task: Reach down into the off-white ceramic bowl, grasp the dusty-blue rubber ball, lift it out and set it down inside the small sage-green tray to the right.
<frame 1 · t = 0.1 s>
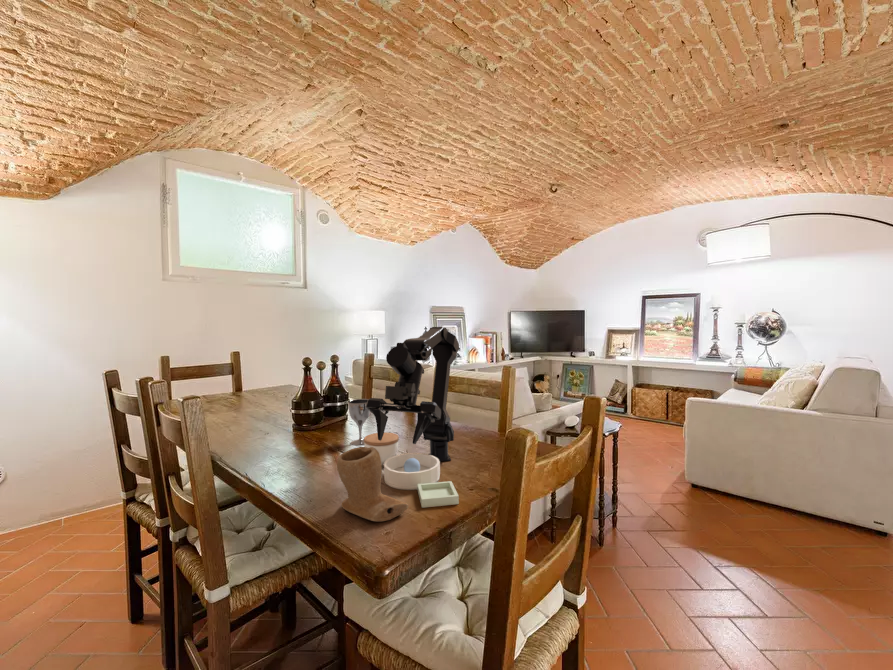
hand: (396, 441, 102), 15 cm above the table, tool tilted 30°, fingers open, 9 cm apart
tray: (437, 497, 104), on the table
lidded jar: (381, 462, 130), on the table
wine glass: (360, 442, 149), on the table
ball: (412, 466, 116), point 3 cm above the table, touching bowl
bowl: (412, 478, 116), on the table
tan boot vase: (368, 514, 96), on the table
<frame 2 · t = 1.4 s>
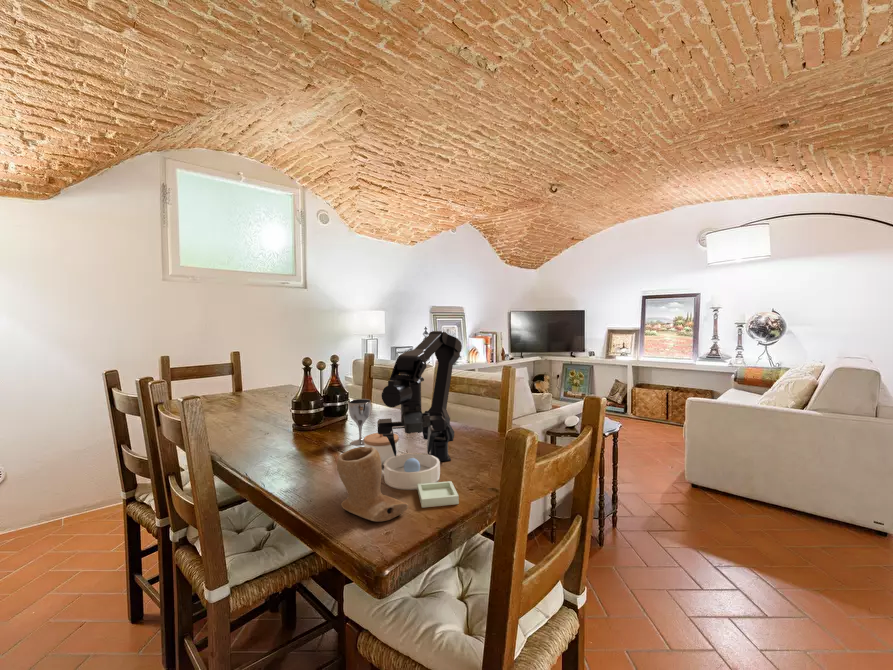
hand: (412, 454, 116), 7 cm above the table, tool pointing down, fingers open, 9 cm apart
nothing on the table moved.
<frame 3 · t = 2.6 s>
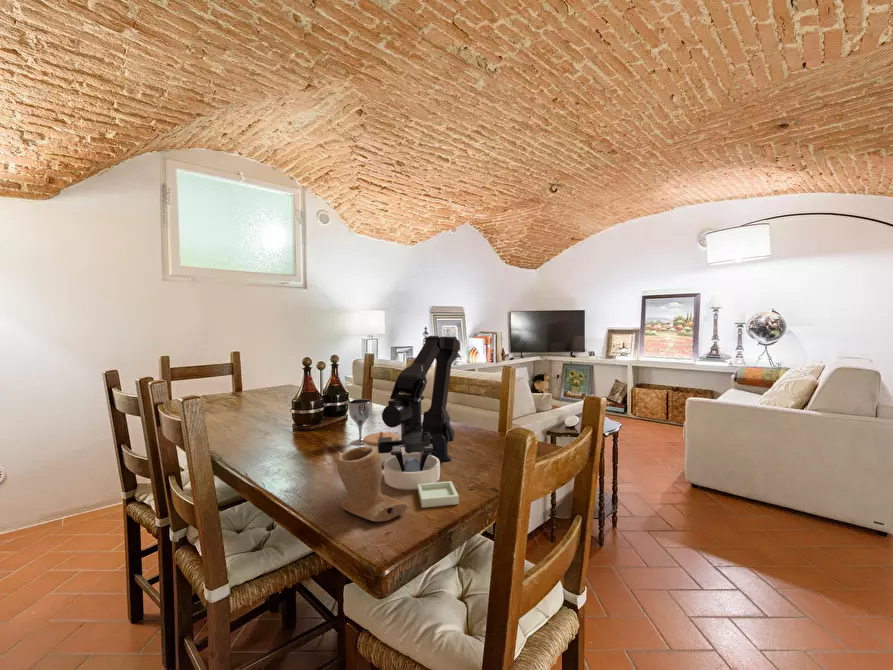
hand: (412, 473, 116), 1 cm above the table, tool pointing down, fingers closed on ball, 4 cm apart
ball: (412, 466, 116), point 3 cm above the table, touching bowl, gripper
everything else where it was.
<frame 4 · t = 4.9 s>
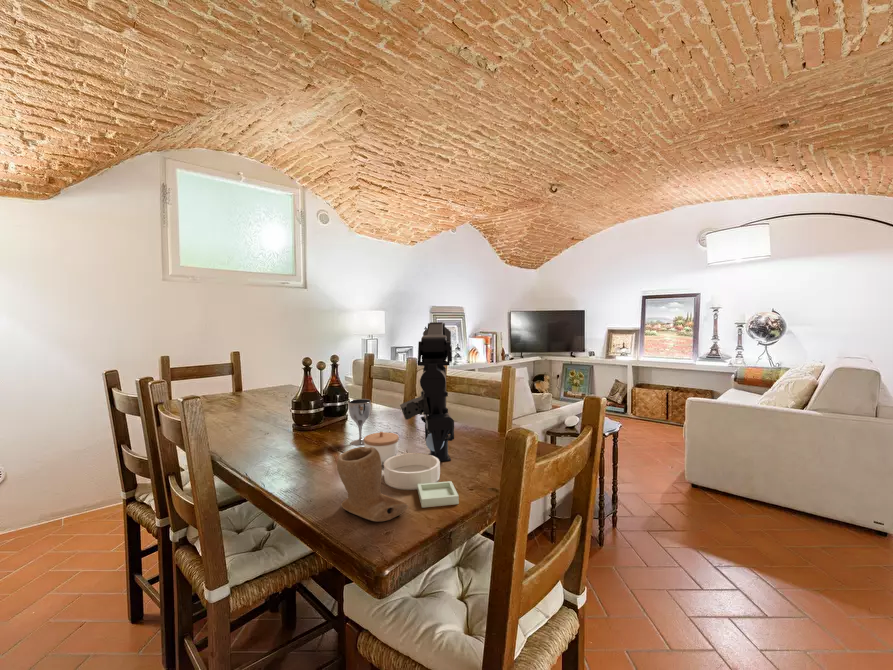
hand: (435, 449, 104), 12 cm above the table, tool pointing down, fingers closed on ball, 4 cm apart
ball: (435, 441, 103), point 14 cm above the table, touching gripper
everything else where it was.
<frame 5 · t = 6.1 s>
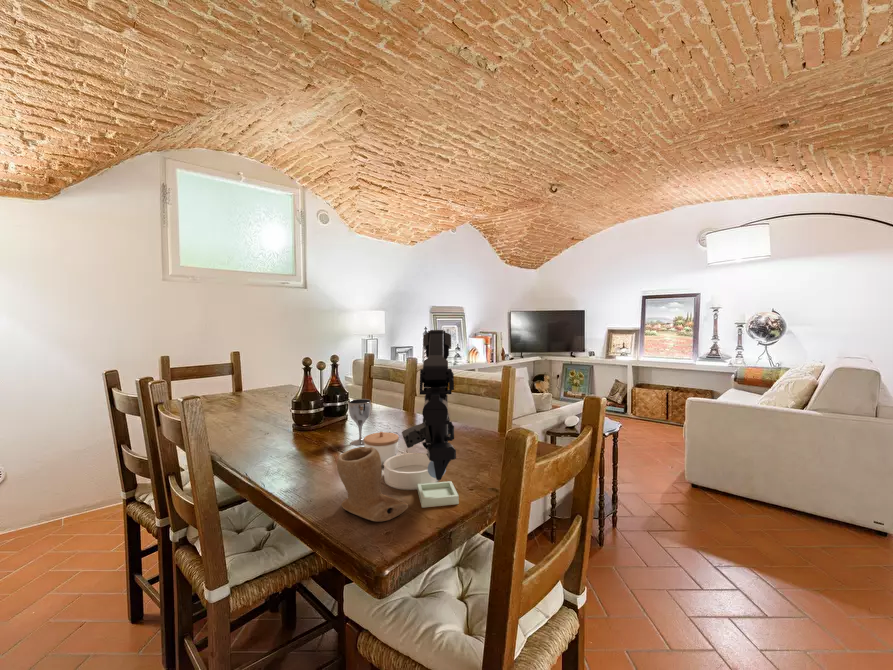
hand: (437, 475, 104), 6 cm above the table, tool pointing down, fingers closed on ball, 4 cm apart
ball: (436, 468, 104), point 7 cm above the table, touching gripper
everything else where it was.
when the fingers open (3 cm above the table, at t = 7.0 s): ball drops 2 cm, resting on tray.
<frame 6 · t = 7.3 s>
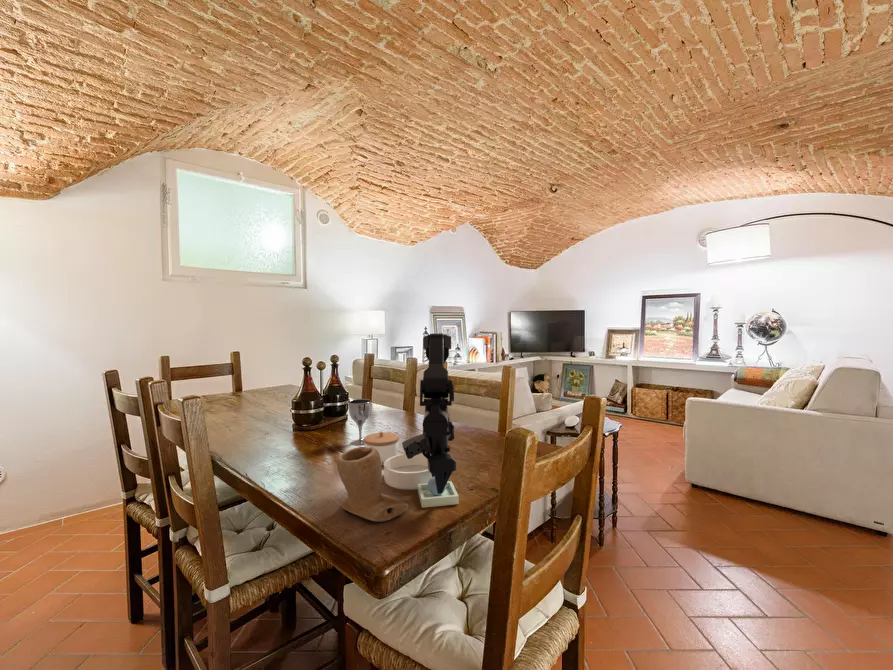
hand: (437, 486, 104), 3 cm above the table, tool pointing down, fingers open, 8 cm apart
ball: (436, 485, 104), point 3 cm above the table, touching tray
everything else where it was.
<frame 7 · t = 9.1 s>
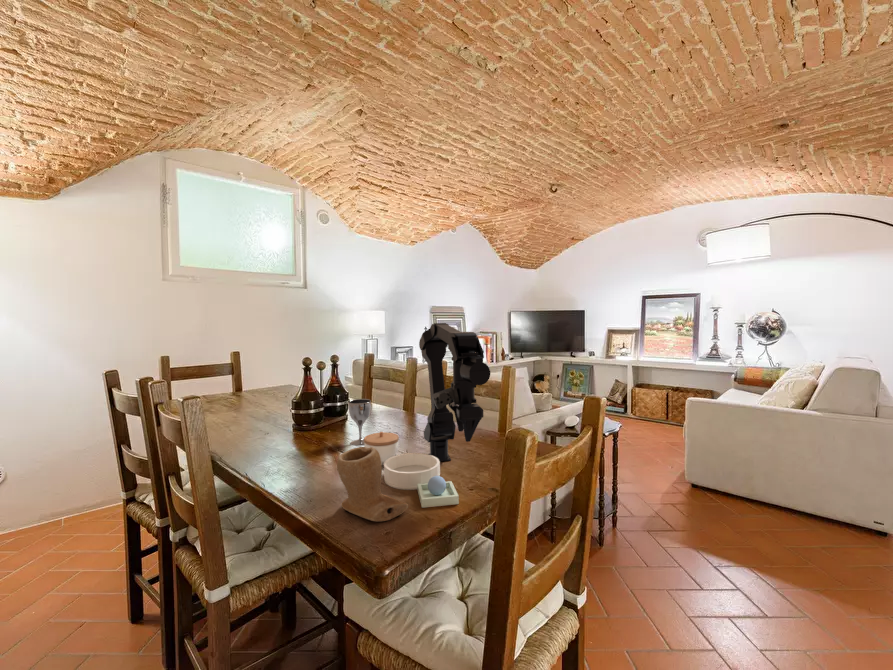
hand: (464, 436, 112), 13 cm above the table, tool pointing down, fingers open, 9 cm apart
nothing on the table moved.
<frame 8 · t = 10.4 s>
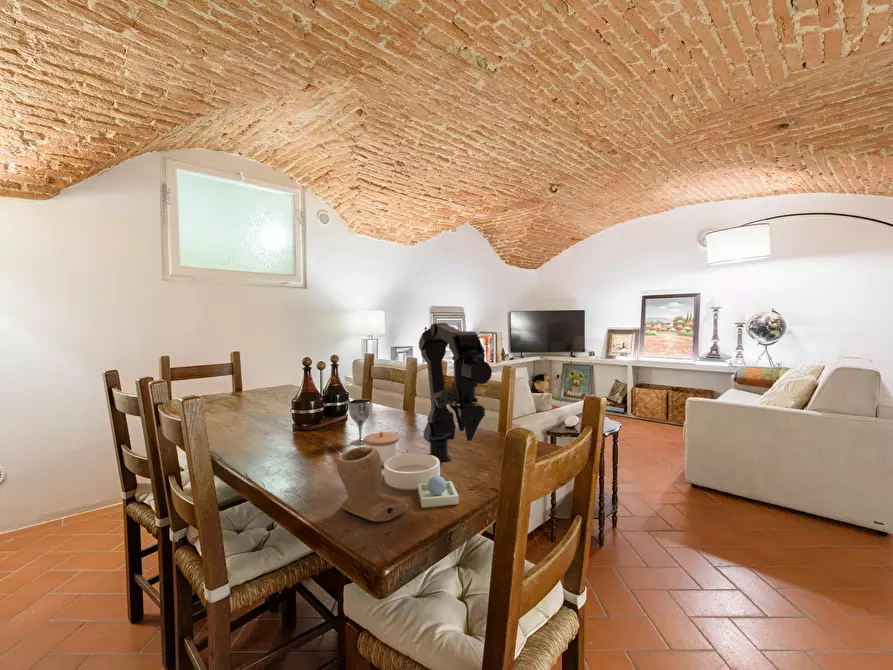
hand: (465, 435, 112), 13 cm above the table, tool pointing down, fingers open, 9 cm apart
nothing on the table moved.
at the end: ball inside the target area on the tray (0.1 cm from its centre), point 3.1 cm above the tray's base; the gripper is holding nothing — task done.
